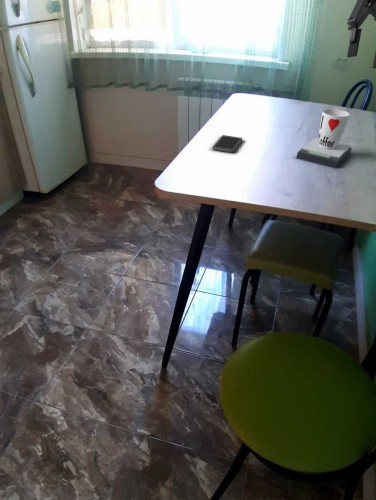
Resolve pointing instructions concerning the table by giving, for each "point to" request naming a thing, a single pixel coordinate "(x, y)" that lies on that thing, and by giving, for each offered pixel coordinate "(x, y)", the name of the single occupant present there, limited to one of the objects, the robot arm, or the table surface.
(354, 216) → the table surface
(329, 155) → the scale
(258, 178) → the table surface
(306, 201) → the table surface
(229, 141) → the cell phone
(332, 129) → the cup
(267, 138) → the table surface
